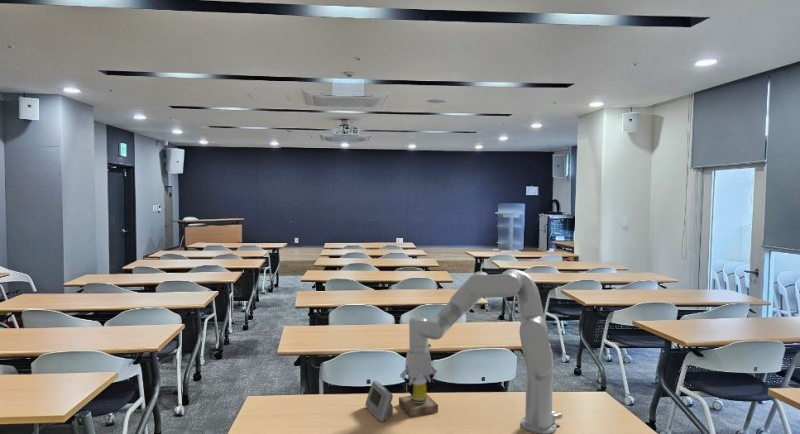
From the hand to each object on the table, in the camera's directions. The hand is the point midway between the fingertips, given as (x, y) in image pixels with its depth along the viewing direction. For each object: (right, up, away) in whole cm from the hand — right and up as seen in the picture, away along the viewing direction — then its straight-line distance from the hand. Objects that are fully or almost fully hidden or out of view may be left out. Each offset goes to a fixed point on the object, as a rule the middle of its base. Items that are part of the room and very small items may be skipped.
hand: (418, 391), depth 187 cm
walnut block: (0, -7, 0) cm, 7 cm away
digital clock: (-16, -7, -5) cm, 18 cm away
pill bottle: (0, -4, 0) cm, 4 cm away
